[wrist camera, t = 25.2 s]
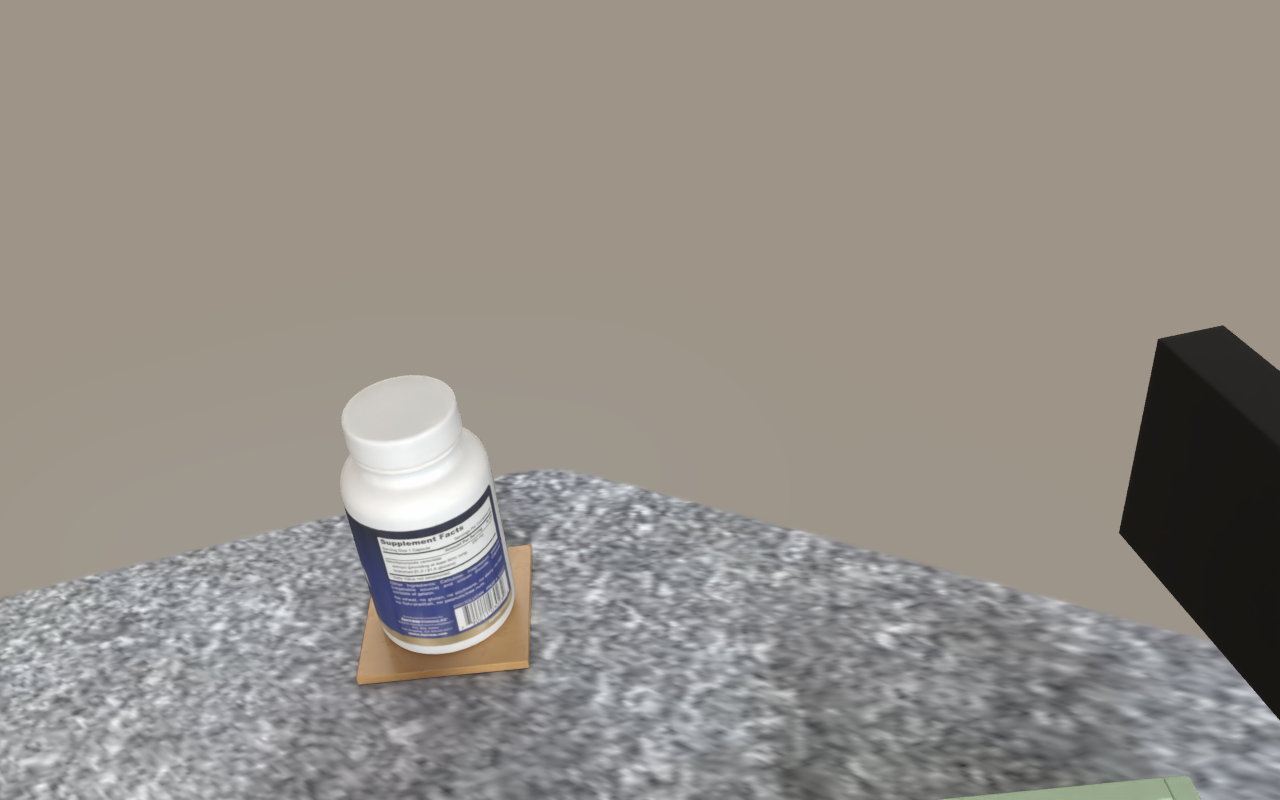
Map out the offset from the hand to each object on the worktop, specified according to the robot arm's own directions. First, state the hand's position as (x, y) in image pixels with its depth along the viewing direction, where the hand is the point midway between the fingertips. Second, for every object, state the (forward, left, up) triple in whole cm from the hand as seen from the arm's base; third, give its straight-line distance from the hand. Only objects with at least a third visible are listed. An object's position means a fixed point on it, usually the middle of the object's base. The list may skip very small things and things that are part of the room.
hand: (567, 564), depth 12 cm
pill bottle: (+7, -25, -25) cm, 36 cm away
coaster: (+7, -25, -25) cm, 36 cm away
